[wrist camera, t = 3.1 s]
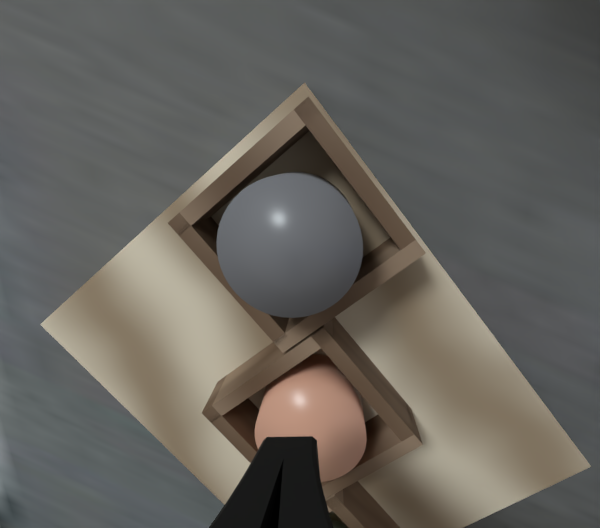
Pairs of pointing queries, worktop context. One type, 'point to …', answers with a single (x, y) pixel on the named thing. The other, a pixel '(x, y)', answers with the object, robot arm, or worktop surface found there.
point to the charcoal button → (290, 245)
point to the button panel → (317, 349)
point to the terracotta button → (316, 413)
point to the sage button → (338, 524)
